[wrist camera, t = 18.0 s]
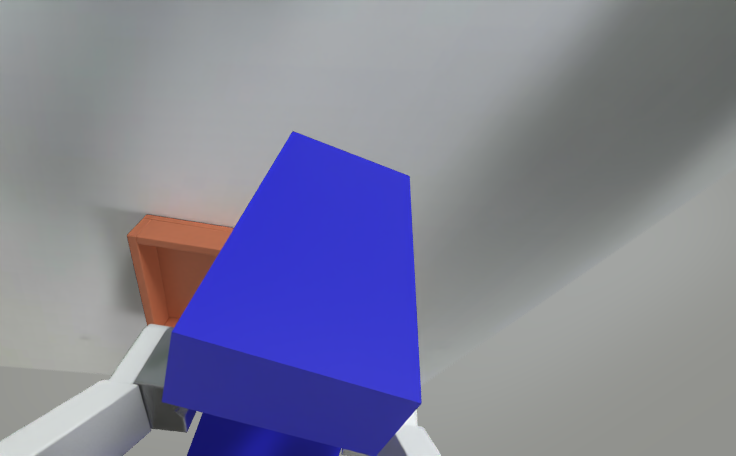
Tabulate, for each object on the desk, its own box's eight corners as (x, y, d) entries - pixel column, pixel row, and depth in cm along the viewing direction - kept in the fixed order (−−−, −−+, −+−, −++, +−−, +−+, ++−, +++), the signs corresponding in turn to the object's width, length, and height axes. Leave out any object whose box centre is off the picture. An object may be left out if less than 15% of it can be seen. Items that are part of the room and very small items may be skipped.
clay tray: (380, 250, 28) (379, 274, 26) (358, 344, 33) (356, 369, 31) (146, 213, 27) (126, 235, 25) (165, 316, 32) (150, 340, 30)
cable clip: (322, 424, 16) (290, 622, 12) (216, 396, 16) (134, 595, 11) (463, 197, 10) (528, 433, 5) (293, 130, 9) (172, 331, 4)
